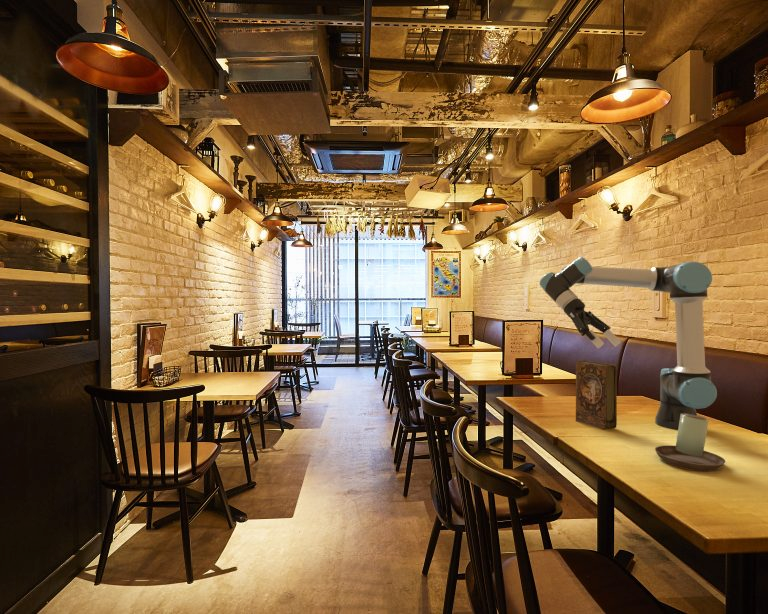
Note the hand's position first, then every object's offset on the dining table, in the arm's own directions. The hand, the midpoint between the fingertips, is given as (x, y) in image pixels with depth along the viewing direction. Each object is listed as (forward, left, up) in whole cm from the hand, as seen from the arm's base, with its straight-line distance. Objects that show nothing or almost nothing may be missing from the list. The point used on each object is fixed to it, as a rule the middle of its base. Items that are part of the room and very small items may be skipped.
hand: (610, 345), depth 160 cm
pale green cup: (-15, +23, -31) cm, 41 cm away
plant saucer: (-15, +23, -34) cm, 44 cm away
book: (0, -19, -34) cm, 39 cm away
